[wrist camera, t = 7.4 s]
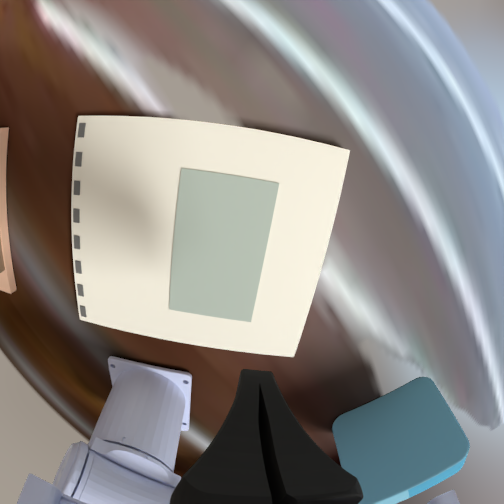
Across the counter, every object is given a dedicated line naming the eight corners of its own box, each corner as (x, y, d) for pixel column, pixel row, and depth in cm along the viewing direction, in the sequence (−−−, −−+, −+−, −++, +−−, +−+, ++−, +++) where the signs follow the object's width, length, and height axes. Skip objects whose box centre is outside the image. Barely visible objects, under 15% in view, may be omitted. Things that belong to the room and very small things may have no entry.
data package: (339, 434, 29) (360, 517, 18) (328, 418, 27) (351, 511, 16) (428, 391, 27) (469, 465, 16) (427, 370, 26) (475, 451, 14)
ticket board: (292, 349, 23) (293, 357, 22) (84, 313, 22) (79, 320, 21) (344, 149, 18) (350, 150, 17) (85, 116, 16) (77, 115, 15)
